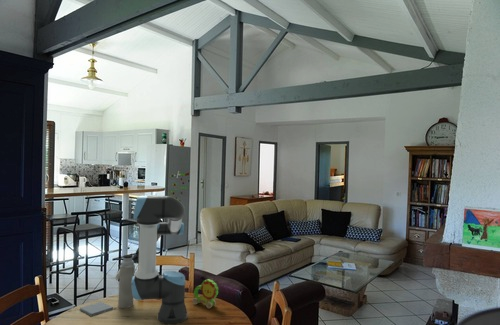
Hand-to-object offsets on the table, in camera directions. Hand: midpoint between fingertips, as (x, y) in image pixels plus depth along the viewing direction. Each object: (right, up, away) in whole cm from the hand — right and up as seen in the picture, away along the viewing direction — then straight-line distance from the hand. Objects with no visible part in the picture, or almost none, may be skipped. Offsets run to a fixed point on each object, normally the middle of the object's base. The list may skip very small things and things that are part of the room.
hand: (124, 281), depth 191 cm
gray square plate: (-13, -13, -7) cm, 20 cm away
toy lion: (+45, -16, +4) cm, 48 cm away
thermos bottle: (0, -14, +1) cm, 14 cm away
